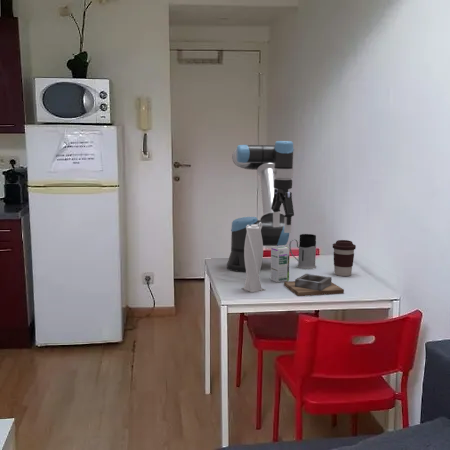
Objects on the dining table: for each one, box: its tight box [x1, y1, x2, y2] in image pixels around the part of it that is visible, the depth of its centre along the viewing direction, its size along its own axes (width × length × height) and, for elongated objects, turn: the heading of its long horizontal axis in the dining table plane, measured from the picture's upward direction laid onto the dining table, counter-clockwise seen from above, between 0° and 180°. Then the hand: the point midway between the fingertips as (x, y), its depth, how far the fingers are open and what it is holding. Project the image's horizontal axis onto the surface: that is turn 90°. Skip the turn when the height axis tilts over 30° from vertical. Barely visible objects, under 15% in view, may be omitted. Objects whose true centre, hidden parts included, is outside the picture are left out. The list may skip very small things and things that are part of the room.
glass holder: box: [288, 233, 317, 270], centre depth 264 cm, size 9×14×15 cm, turn 117°
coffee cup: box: [332, 239, 357, 277], centre depth 252 cm, size 10×10×15 cm
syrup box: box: [270, 245, 291, 283], centre depth 240 cm, size 6×6×14 cm
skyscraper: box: [241, 222, 266, 293], centre depth 224 cm, size 8×8×28 cm
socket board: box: [283, 273, 345, 297], centre depth 228 cm, size 16×19×4 cm
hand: (281, 229), depth 238 cm, fingers open, 13 cm apart
